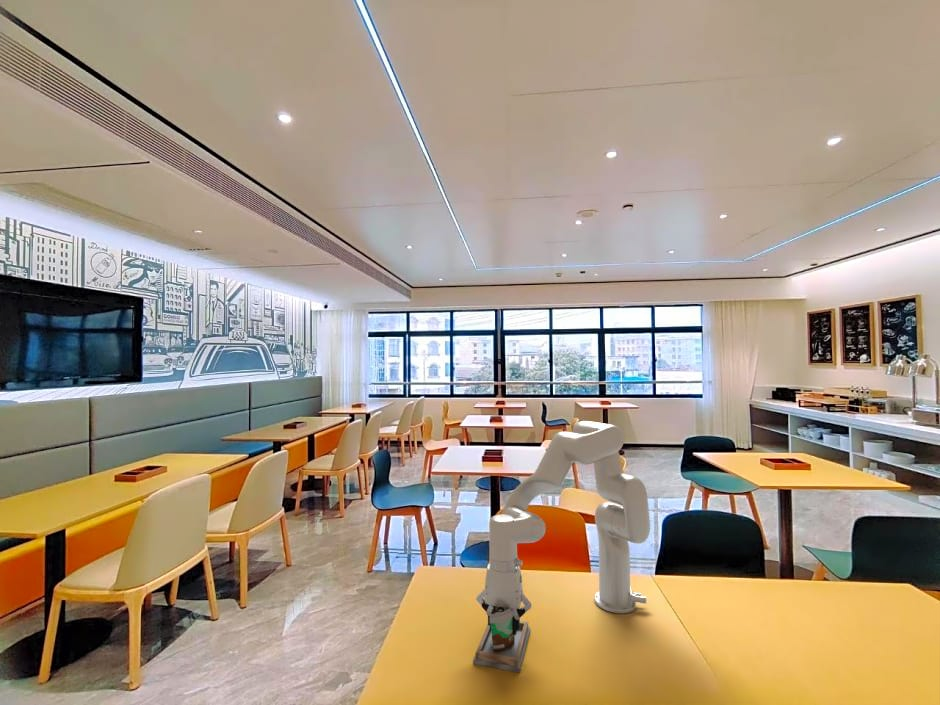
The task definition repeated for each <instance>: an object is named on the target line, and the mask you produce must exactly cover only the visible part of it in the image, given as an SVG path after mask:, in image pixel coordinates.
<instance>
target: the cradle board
mask: <svg viewBox="0 0 940 705" xmlns="http://www.w3.org/2000/svg"><path fill="white" fill-rule="evenodd" d="M530 633H531V626H529V622H528V621H525V620H524V621H522V620H520V628H519V630H517V633H516V635H515V642H514V644H513V645H512V646H511V647H510V648H509V649H506V650H504V651H498V652H494V651H493V642H492V633H491V631H490V625H488V624H487V625H486V627H485V630H484V632H483V635H482V637H481V640H480V642H479V644H478V647H477V649H476V651H475V653H474V654H475V655H474V656H473V659H472V664H474V665H476V666H477V665H478V666H484V667H489V668H492V669H493V668H494V669H498V670H499V669H500V670H503V671H508V672H512V673H516V674H517V673H518V674H520V673H521V669H522V666H523V665H522V664H523V661H524V657H525V654H526V649H527V646H528V641H529V637H530Z"/></svg>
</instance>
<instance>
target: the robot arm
mask: <svg viewBox="0 0 940 705" xmlns="http://www.w3.org/2000/svg"><path fill="white" fill-rule="evenodd" d="M624 442H625V435H624V432H623V431H622V429H621V428H620V427H618V426H617V425H614V424H611V423H610V424H609V423H603V422H596V421H593V420H591V421H589V420H581V421H578V422H576V423H574V426H573V428H572V431H558V432H557V433H555V435H554V436H552V438H551V441H550V443H549V444H548V446H547V448H546V450H545V452H544V455H543V456H542V458H541V460H540V462H539V463H538V466H537V468H536V470H535V471H534V472H533V473H532V474H531V475H529V476H528V477H527V478H526V479H525V480H523V481H522V482H520V484H519V485H517V486H516V487H515V488H514V489H513V491H512V492H511V494H510V496H509V497H508V499H507V501H506V503H505V505H504V507H503V510H502V513H501V514H495V515H493V516H491V517H490V519H489V529H488V530H489V538H488V539H489V543H488V544H489V549H488V550H489V551H488V552H489V563H488V564H487V567H486V572H485V573H486V574H485V582H484V589H483V590H481V592H480V593H479V594H478V595H477V596H476V597H475V599H476V601H477V603H478V604H479V605H480V606H481V607H482V609H483V610H484V611H485V612H486V615H487V625H490V618H489V617H490V616H489V614H492V610H493V606H497V607H503V608H511V609H513V612H514V619H513V634H514V635H516V633H517V630H519V628H520V621H521V620H520V618H521V617H523V616H524V615H525V614H526V613H527V612H528V611H530V610H531V609H532V606H533V604H532V603H531V601H530V600H529V599H528V597H526V595H525V594H524V589H523V588H524V587H523V577H522V576H523V575H522V570H521V567H520V566H523V560H522V559H521V560H520V559H519V557H518V544H531V543H536V542H538V541H540V540H541V539H542V538H543V537H544V536H545V533H546V529H547V528H546V523H545V522H544V520H543V519H542V518H541V517H540V516H539V515H537V514H536V513H533V512H531V511H529V510H527V509H528V507H529V505H530V504H531V503H532V501H534V499H535V498H536V497H538V496H540V495H543V494H545V493H549V492H553V491H557V490H559V489H561V488H562V486H563V484H564V482H565V480H566V477H567V476H568V474H569V472H570V469H571V467H572V466H573V464H574V463H576V464H579V465H590V464H593V468H594V478H595V486H596V491H597V492H596V493H597V494H598V496H599V497H600V498H602V499H604V500H606V501H604V502H601V503H599V504H598V506H597V507H596V509H595V512H594V522H595V525H596V530H597V539H598V541H597V542H598V582H599V583H598V588H599V590H598V591H597V592H596V593H595V594H594V597H593V599H594V600H593V601H594V602H595V604H596V605H597V606H598V607H599V608H601V609H602V610H603V611H606V612H609V613H615V614H627V613H632V612H634V610H635V609H636V607H637V605H636V603H640V604H645V605H646V604H647V597H646V596H642V593H641V592H634V591H632V587H631V562H630V561H631V557H630V556H631V552H630V551H631V550H630V544H629V542H630V543H633V544H637V545H638V544H643V543H645V542H646V541H647V540H648V538H649V536H650V531H651V519H650V509H649V501H648V492H647V489H646V486H645V483H643V481H642V480H641V479H640V478H638V477H636V476H634V475H630V474H627V473H624V471H623V467H622V466H623V465H622V461H621V456H620V452H619V451H620V450H621V449H622V447H623V445H624ZM521 604H523V606H522V605H521ZM490 631H491V625H490Z"/></svg>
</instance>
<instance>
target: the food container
mask: <svg viewBox="0 0 940 705" xmlns="http://www.w3.org/2000/svg"><path fill="white" fill-rule="evenodd" d="M489 616H490V617H489V618H490V625H491V633H492V642H493V651H494V652H498V651H504V650H506V649H509V648H510V647H511V646H512V645H513V644H514V642H515V635H514V634H513V619H514V612H513V609H511V608H503V607H497V606H493V610H492V614H489Z"/></svg>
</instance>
